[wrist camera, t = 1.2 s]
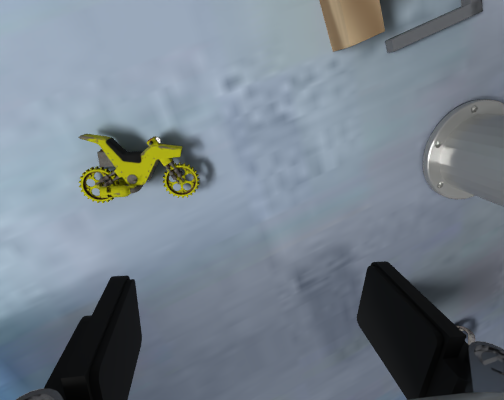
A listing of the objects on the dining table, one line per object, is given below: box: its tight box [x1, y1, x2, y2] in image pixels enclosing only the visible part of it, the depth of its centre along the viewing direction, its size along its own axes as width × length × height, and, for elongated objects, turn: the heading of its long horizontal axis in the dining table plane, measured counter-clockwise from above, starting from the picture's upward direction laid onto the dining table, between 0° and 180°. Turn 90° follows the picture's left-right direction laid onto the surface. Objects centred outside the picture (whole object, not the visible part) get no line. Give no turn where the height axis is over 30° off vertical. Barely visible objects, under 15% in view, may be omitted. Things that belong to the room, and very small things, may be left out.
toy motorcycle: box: [79, 134, 199, 203], centre depth 30 cm, size 12×4×7 cm
